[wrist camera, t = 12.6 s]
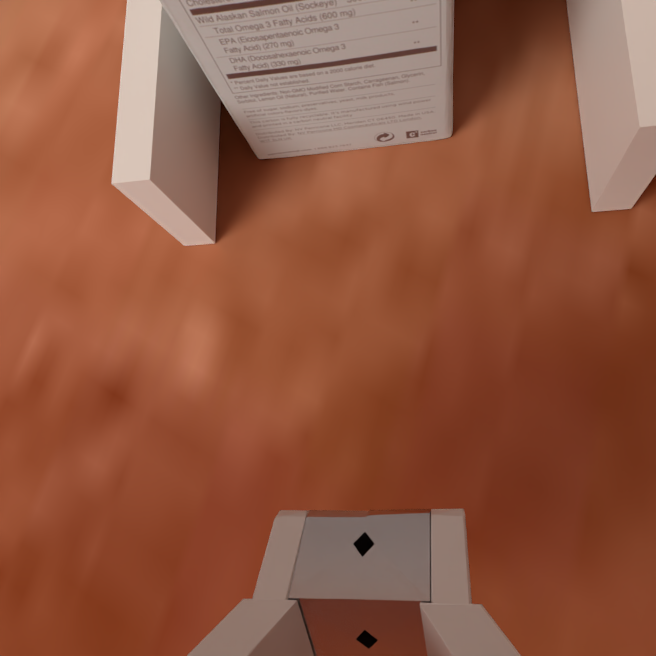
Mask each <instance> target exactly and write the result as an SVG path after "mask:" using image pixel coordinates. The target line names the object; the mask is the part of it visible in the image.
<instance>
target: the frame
mask: <svg viewBox="0 0 656 656" xmlns="http://www.w3.org/2000/svg"><path fill="white" fill-rule="evenodd" d="M566 3H567V12H568V20H569V28H570V36H571V45H572V53H573V61H574V69H575V78H576V86H577V94H578V102H579V111H580V119H581V127H582V135H583V144H584V152H585V160H586V168H587V177H588V185H589V193H590V201H591V210H592V212H598V211H610V210H622V209H632V207H633V206H634V204H635V203H636V201H637V200H638V199H639V197H640V196H641V194H642V193H643V192H644V190H645V189H646V187H647V186H648V185H649V183H650V182H651V180H652V179H653V178H654V176H655V175H656V0H566ZM220 110H221V99H220V97H219V96H218V94H217V93H216V91H215V89H214V88H213V86H212V85H211V83H210V81H209V80H208V78H207V77H206V75H205V73H204V72H203V70H202V68H201V67H200V65H199V64H198V62H197V60H196V59H195V57H194V56H193V54H192V52H191V51H190V49H189V48H188V46H187V44H186V43H185V41H184V40H183V38H182V36H181V35H180V33H179V31H178V30H177V28H176V27H175V25H174V23H173V22H172V20H171V18H170V17H169V15H168V14H167V12H166V11H165V9H164V7H163V6H162V4H161V2H160V1H159V0H127V9H126V20H125V32H124V44H123V55H122V67H121V79H120V91H119V102H118V114H117V126H116V137H115V149H114V161H113V172H112V185H114V186H115V187H116V188H117V189H118V190H120V191H121V192H122V193H123V194H124V195H125V196H127V197H128V198H129V199H130V200H131V201H132V202H134V203H135V204H136V205H137V206H138V207H139V208H141V209H142V210H143V211H144V212H145V213H147V214H148V215H149V216H150V217H151V218H152V219H154V220H155V221H156V222H157V223H158V224H159V225H161V226H162V227H163V228H164V229H165V230H167V231H168V232H169V233H170V234H171V235H172V236H174V237H175V238H176V239H177V240H178V241H179V242H181V243H182V244H183V245H184V246H190V245H202V244H214V243H215V236H216V211H217V186H218V161H219V135H220Z"/></svg>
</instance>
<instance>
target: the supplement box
mask: <svg viewBox="0 0 656 656" xmlns="http://www.w3.org/2000/svg"><path fill="white" fill-rule="evenodd" d="M159 1H160V2H161V4H162V6H163V7H164V9H165V11H166V12H167V14H168V15H169V17H170V18H171V20H172V22H173V23H174V25H175V27H176V28H177V30H178V31H179V33H180V35H181V36H182V38H183V40H184V41H185V43H186V44H187V46H188V48H189V49H190V51H191V52H192V54H193V56H194V57H195V59H196V60H197V62H198V64H199V65H200V67H201V68H202V70H203V72H204V73H205V75H206V77H207V78H208V80H209V81H210V83H211V85H212V86H213V88H214V89H215V91H216V93H217V94H218V96H219V97H220V99H221V101H222V102H223V104H224V106H225V107H226V109H227V110H228V112H229V113H230V115H231V117H232V118H233V120H234V121H235V123H236V125H237V126H238V128H239V129H240V131H241V133H242V134H243V136H244V137H245V139H246V140H247V142H248V143H249V145H250V147H251V149H252V150H253V152H254V153H255V155H256V156H257V158H258V159H273V158H284V157H294V156H302V155H311V154H320V153H329V152H336V151H347V150H355V149H364V148H372V147H382V146H390V145H399V144H407V143H415V142H423V141H432V140H438V139H446V138H449V137H451V136H452V132H453V46H454V0H159Z"/></svg>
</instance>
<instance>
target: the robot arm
mask: <svg viewBox="0 0 656 656" xmlns="http://www.w3.org/2000/svg"><path fill="white" fill-rule="evenodd" d="M187 656H521V655H520V654H519V652H518V651H517V650H516V648H515V647H514V646H513V645H512V643H511V642H510V641H509V639H508V638H507V637H506V635H505V634H504V633H503V631H502V630H501V629H500V628H499V626H498V625H497V624H496V622H495V621H494V620H493V618H492V617H491V616H490V614H489V613H488V612H487V611H486V609H485V608H484V607H483V605H482V604H472V598H471V585H470V572H469V559H468V546H467V533H466V520H465V512H464V509H400V510H369V511H336V510H280V511H279V513H278V514H277V516H276V517H275V519H274V523H273V527H272V530H271V534H270V537H269V541H268V544H267V548H266V552H265V555H264V559H263V562H262V566H261V569H260V573H259V577H258V580H257V584H256V587H255V591H254V595H253V598H252V599H243V600H242V601H241V602H240V603H239V604H238V605H237V606H236V607H235V608H234V609H233V610H232V611H231V612H230V613H229V614H228V615H227V616H226V617H225V618H224V619H223V620H222V621H221V622H220V623H219V624H218V625H217V626H216V627H215V628H214V629H213V630H212V631H211V632H210V633H209V634H208V635H207V636H206V637H205V638H204V639H203V640H202V641H201V642H200V643H199V644H198V645H197V646H196V647H195V648H194V649H193V650H192V651H191V652H190V653H189V654H188V655H187Z"/></svg>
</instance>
